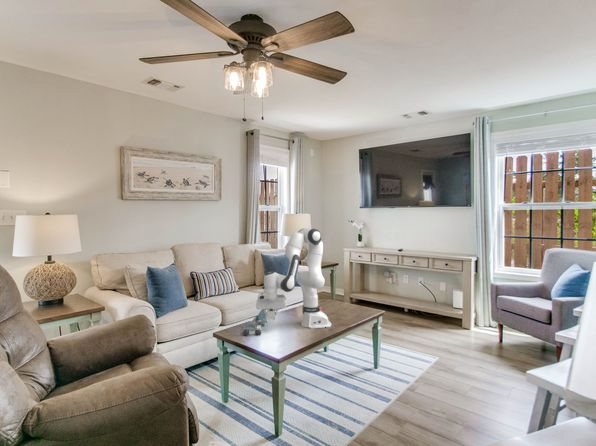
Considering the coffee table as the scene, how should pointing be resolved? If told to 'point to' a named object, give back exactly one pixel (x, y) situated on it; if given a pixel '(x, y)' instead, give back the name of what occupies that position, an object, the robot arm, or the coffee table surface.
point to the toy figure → (261, 318)
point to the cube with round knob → (271, 314)
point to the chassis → (252, 330)
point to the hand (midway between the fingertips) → (271, 314)
